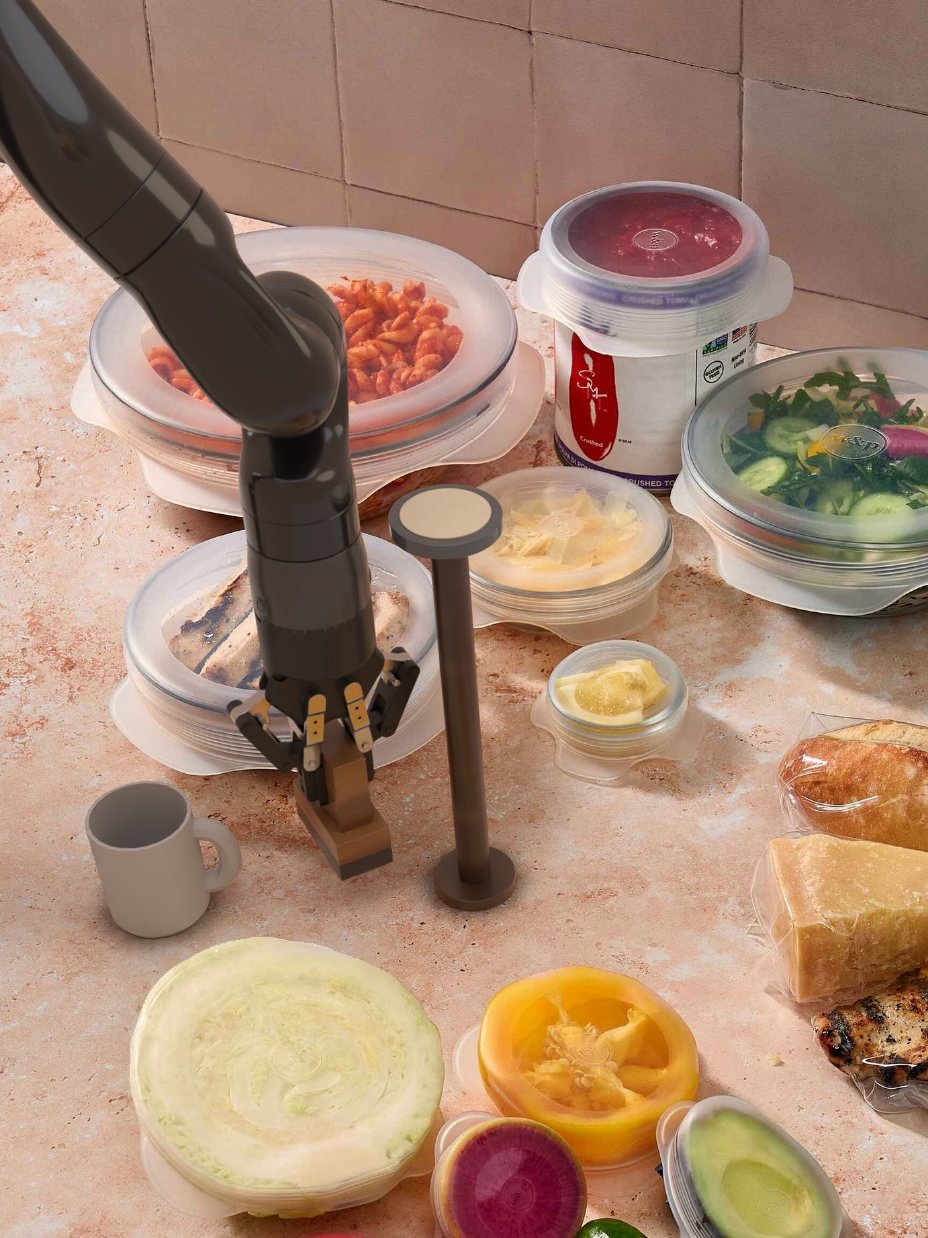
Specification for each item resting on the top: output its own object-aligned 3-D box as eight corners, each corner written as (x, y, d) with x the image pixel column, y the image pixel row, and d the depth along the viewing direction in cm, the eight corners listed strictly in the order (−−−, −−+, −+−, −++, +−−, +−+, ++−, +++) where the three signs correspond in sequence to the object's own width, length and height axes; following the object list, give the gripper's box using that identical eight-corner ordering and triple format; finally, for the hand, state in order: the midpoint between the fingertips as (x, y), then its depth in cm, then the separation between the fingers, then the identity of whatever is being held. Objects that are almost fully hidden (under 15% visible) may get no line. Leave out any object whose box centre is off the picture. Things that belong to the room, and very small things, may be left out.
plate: (419, 572, 99) (418, 556, 99) (371, 516, 104) (369, 501, 103) (523, 539, 102) (522, 523, 101) (471, 486, 106) (470, 471, 106)
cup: (116, 874, 124) (90, 784, 118) (252, 863, 125) (234, 773, 119) (105, 945, 119) (78, 855, 113) (248, 933, 120) (229, 843, 114)
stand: (457, 922, 121) (423, 565, 100) (421, 872, 125) (381, 518, 104) (530, 892, 123) (512, 537, 102) (492, 843, 127) (468, 491, 106)
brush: (393, 862, 120) (382, 762, 113) (341, 881, 118) (327, 781, 112) (347, 797, 125) (335, 697, 118) (297, 815, 123) (282, 715, 117)
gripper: (386, 533, 112) (405, 731, 123) (186, 592, 106) (225, 794, 118) (435, 590, 107) (450, 790, 119) (229, 654, 101) (265, 858, 113)
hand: (338, 791), depth 118 cm, fingers closed on brush, 2 cm apart
